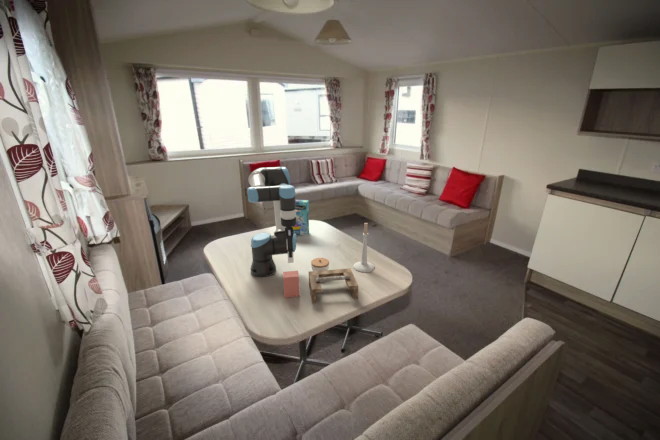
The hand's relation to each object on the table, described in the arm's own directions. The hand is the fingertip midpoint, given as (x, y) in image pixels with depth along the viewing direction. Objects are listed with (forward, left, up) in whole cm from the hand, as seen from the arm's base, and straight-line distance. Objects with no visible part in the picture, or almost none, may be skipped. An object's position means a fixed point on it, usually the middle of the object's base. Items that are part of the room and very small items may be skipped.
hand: (290, 256), depth 156 cm
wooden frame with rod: (+22, -1, -23) cm, 31 cm away
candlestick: (+46, +22, -23) cm, 56 cm away
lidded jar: (+18, +19, -23) cm, 35 cm away
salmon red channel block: (0, 0, -22) cm, 23 cm away
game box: (+7, +83, -23) cm, 86 cm away
